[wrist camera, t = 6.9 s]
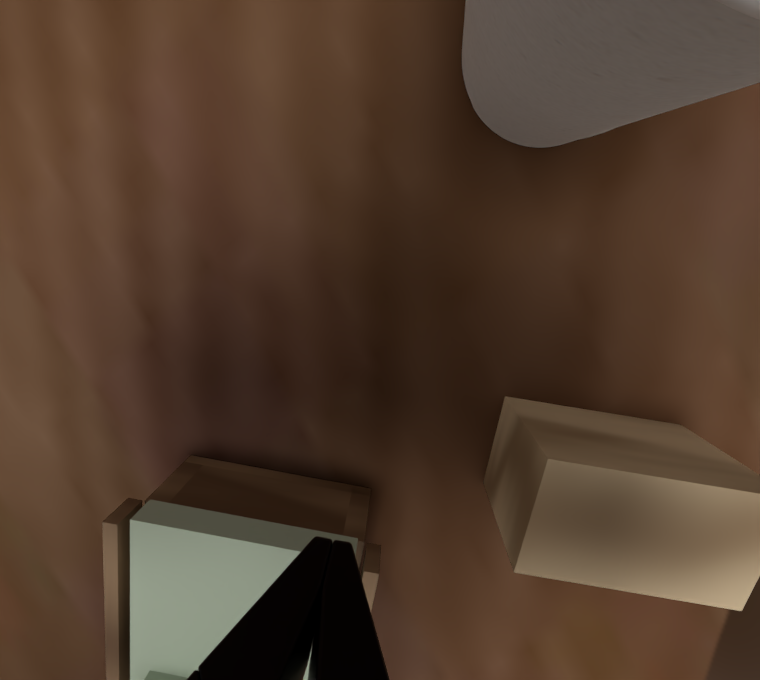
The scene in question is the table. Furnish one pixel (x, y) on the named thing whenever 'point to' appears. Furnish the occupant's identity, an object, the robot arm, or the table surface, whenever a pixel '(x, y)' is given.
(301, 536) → the lid
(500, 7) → the dixie cup
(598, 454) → the block
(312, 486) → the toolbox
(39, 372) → the table surface
